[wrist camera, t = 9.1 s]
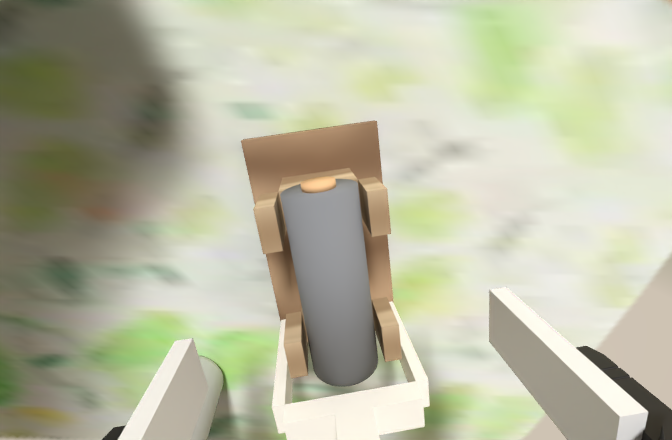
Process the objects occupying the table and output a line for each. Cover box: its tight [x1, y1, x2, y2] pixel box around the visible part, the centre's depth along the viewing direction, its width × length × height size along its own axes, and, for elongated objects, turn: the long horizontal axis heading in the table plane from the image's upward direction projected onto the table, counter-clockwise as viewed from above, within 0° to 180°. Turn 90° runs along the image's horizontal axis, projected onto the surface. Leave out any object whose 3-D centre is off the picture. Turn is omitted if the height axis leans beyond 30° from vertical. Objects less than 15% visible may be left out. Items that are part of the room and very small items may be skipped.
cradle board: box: [241, 121, 402, 378], centre depth 22 cm, size 16×9×8 cm, turn 8°
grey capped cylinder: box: [280, 176, 378, 386], centre depth 19 cm, size 12×4×4 cm, turn 8°
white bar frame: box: [272, 301, 430, 440], centre depth 21 cm, size 2×9×12 cm, turn 98°
